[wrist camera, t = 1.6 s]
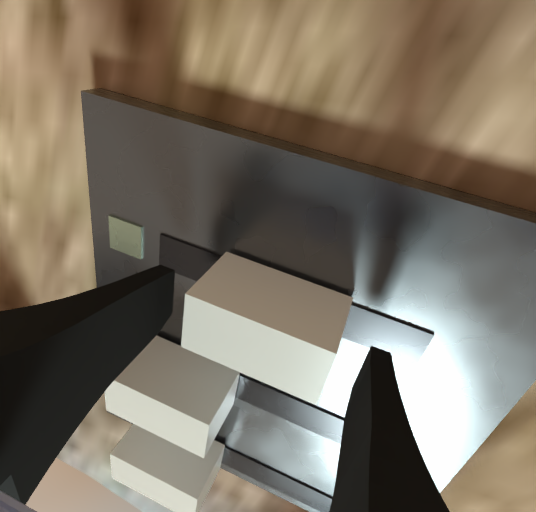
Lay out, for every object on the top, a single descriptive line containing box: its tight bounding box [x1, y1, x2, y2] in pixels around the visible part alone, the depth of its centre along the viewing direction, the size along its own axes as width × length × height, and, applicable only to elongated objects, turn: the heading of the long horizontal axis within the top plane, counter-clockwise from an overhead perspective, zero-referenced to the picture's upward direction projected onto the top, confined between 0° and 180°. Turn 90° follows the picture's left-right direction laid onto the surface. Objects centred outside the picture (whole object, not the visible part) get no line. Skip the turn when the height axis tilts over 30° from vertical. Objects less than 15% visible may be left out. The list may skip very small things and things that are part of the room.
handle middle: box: [105, 335, 240, 458], centre depth 17 cm, size 5×2×3 cm, turn 79°
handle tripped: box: [181, 252, 353, 405], centre depth 13 cm, size 5×2×3 cm, turn 79°
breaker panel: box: [81, 88, 536, 512], centre depth 17 cm, size 18×19×1 cm
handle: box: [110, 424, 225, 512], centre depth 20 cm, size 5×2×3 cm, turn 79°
